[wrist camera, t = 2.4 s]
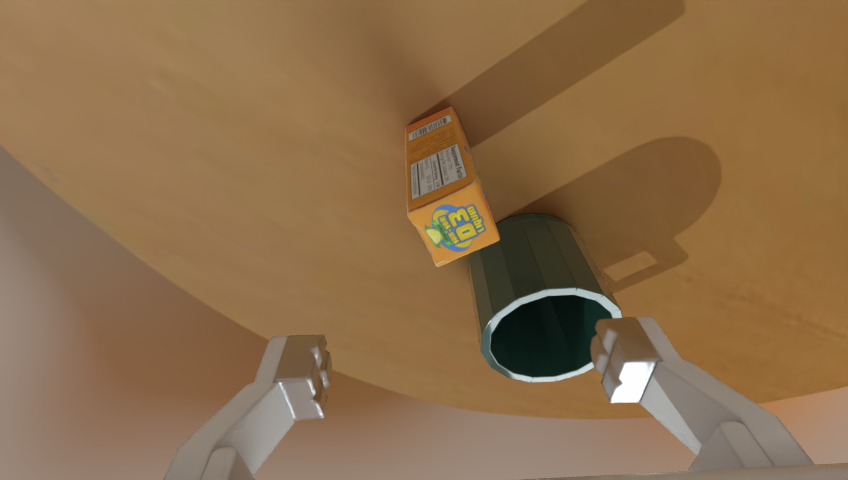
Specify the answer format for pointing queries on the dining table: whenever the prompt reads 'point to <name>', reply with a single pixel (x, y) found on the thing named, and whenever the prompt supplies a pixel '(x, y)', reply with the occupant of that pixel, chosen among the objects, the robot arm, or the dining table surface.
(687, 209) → the dining table surface
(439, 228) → the supplement box
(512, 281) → the teal faceted mug
